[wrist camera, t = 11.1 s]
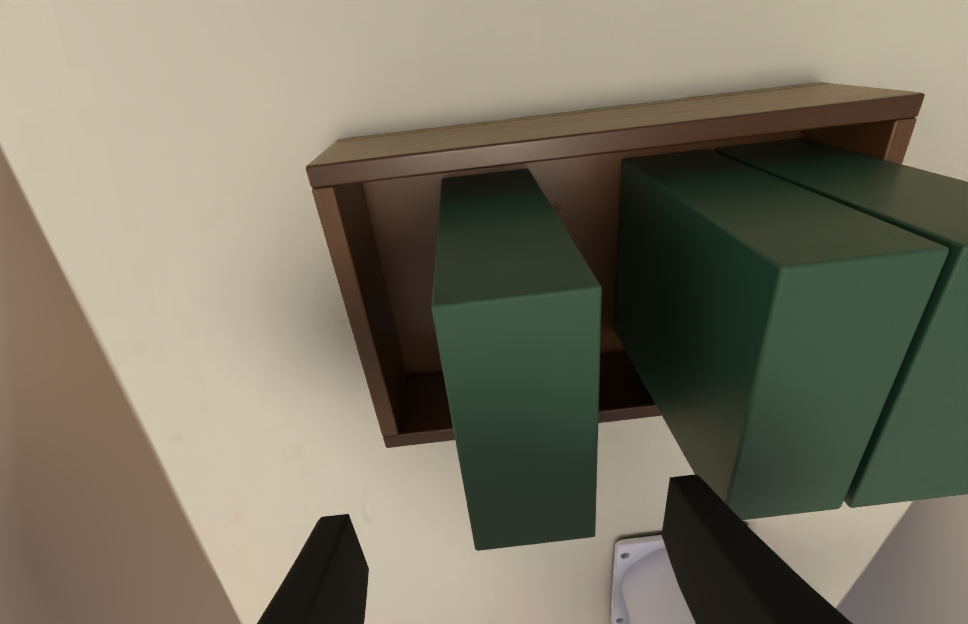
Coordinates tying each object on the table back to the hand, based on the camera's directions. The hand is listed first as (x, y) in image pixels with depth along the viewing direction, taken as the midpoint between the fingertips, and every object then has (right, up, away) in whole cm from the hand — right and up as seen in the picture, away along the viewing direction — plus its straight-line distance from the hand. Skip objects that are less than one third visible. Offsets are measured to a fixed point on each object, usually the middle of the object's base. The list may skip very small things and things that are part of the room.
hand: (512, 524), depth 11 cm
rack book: (+6, +7, +7) cm, 12 cm away
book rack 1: (+3, +7, +8) cm, 11 cm away
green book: (0, +7, +7) cm, 10 cm away
